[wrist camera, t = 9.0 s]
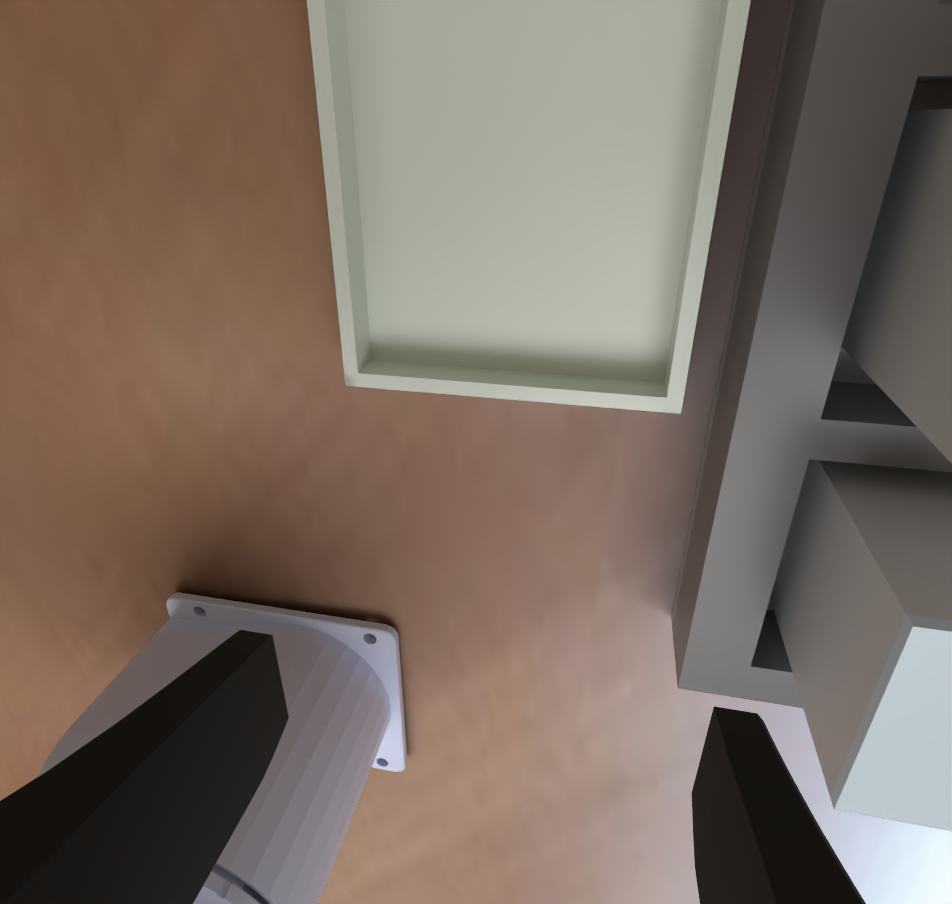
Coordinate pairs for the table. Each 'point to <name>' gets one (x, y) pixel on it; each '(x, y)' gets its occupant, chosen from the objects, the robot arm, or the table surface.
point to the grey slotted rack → (802, 326)
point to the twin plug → (874, 635)
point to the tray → (523, 190)
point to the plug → (912, 282)
